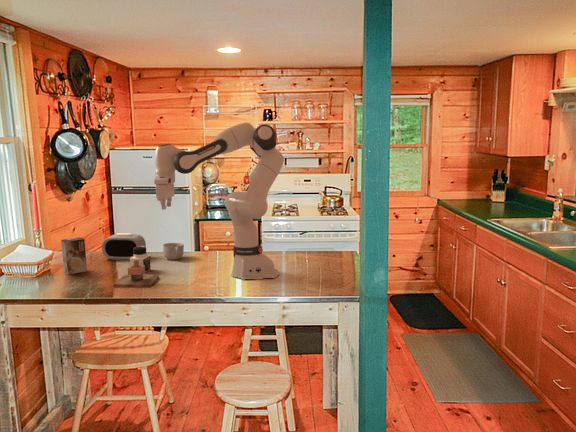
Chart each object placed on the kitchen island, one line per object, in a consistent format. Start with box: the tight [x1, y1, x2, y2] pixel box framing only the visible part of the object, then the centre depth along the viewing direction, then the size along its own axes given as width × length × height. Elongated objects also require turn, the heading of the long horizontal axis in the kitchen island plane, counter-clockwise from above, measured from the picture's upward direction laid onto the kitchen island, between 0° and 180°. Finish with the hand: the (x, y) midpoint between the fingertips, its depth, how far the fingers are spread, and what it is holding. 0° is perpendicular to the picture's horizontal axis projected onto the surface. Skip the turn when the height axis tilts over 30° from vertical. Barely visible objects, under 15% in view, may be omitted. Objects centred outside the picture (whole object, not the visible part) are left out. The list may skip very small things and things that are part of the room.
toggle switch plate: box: [113, 260, 160, 288], centre depth 225 cm, size 16×14×10 cm
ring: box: [127, 265, 146, 275], centre depth 225 cm, size 6×6×3 cm
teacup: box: [162, 242, 185, 261], centre depth 266 cm, size 14×11×8 cm
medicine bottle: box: [129, 246, 152, 274], centre depth 243 cm, size 7×7×12 cm
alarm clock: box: [101, 232, 147, 261], centre depth 267 cm, size 21×10×13 cm, turn 88°
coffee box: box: [61, 236, 88, 275], centre depth 241 cm, size 9×6×16 cm
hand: (166, 207), depth 238 cm, fingers open, 8 cm apart
